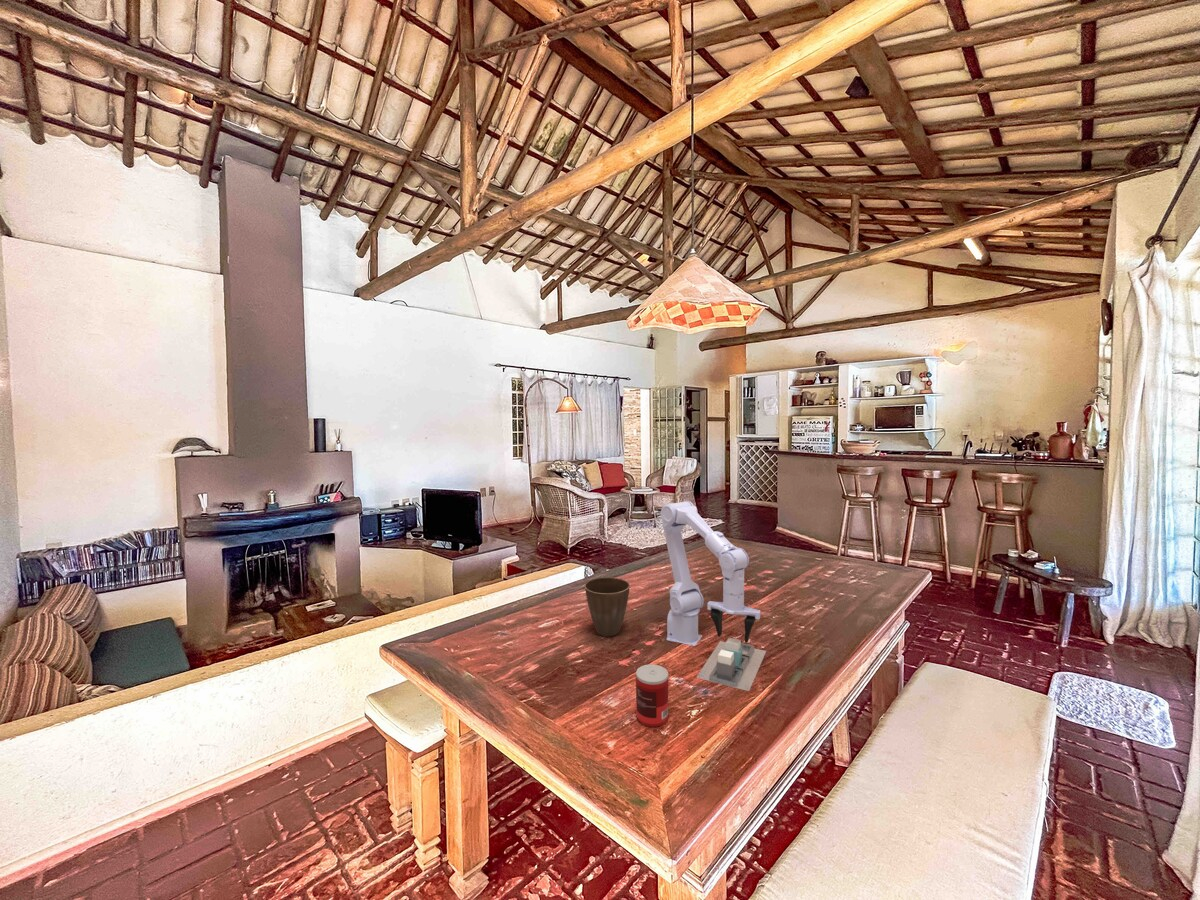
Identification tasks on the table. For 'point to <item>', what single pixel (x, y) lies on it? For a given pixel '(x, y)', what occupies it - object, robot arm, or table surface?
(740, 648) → the plug
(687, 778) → the table surface
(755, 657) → the panel
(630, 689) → the table surface
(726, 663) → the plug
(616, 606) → the plant pot
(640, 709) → the canned food
